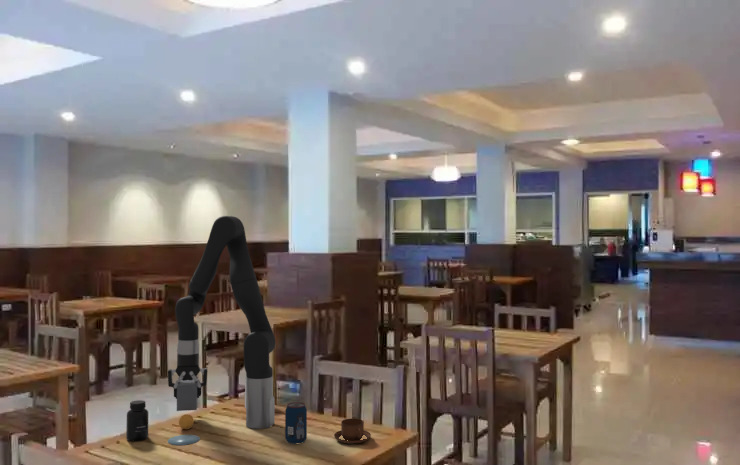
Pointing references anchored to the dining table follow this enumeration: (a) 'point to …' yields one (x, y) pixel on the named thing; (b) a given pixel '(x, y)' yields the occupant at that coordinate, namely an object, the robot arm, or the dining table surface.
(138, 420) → the supplement bottle
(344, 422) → the rectangular block and saucer
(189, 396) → the rectangular block
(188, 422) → the ball
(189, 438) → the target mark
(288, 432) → the soda can
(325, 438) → the dining table surface
